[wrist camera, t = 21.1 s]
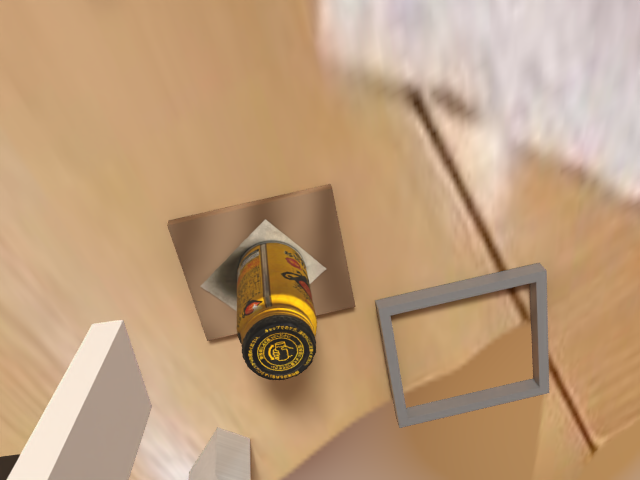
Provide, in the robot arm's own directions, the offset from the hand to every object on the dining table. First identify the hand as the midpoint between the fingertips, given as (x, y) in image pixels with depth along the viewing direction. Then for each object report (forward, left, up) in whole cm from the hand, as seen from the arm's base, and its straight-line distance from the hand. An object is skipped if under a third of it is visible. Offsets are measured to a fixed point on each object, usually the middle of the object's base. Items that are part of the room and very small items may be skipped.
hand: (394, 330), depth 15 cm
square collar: (-11, +30, -35) cm, 47 cm away
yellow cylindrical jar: (+6, +17, -34) cm, 39 cm away
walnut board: (+6, +16, -35) cm, 39 cm away
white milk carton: (+16, +37, -35) cm, 53 cm away
